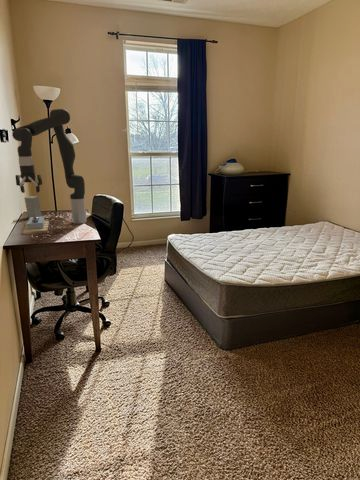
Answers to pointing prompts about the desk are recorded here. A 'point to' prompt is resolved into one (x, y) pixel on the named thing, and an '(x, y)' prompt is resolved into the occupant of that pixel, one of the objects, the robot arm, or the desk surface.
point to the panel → (36, 225)
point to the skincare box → (33, 206)
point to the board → (35, 231)
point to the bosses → (35, 219)
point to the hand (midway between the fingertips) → (30, 192)
